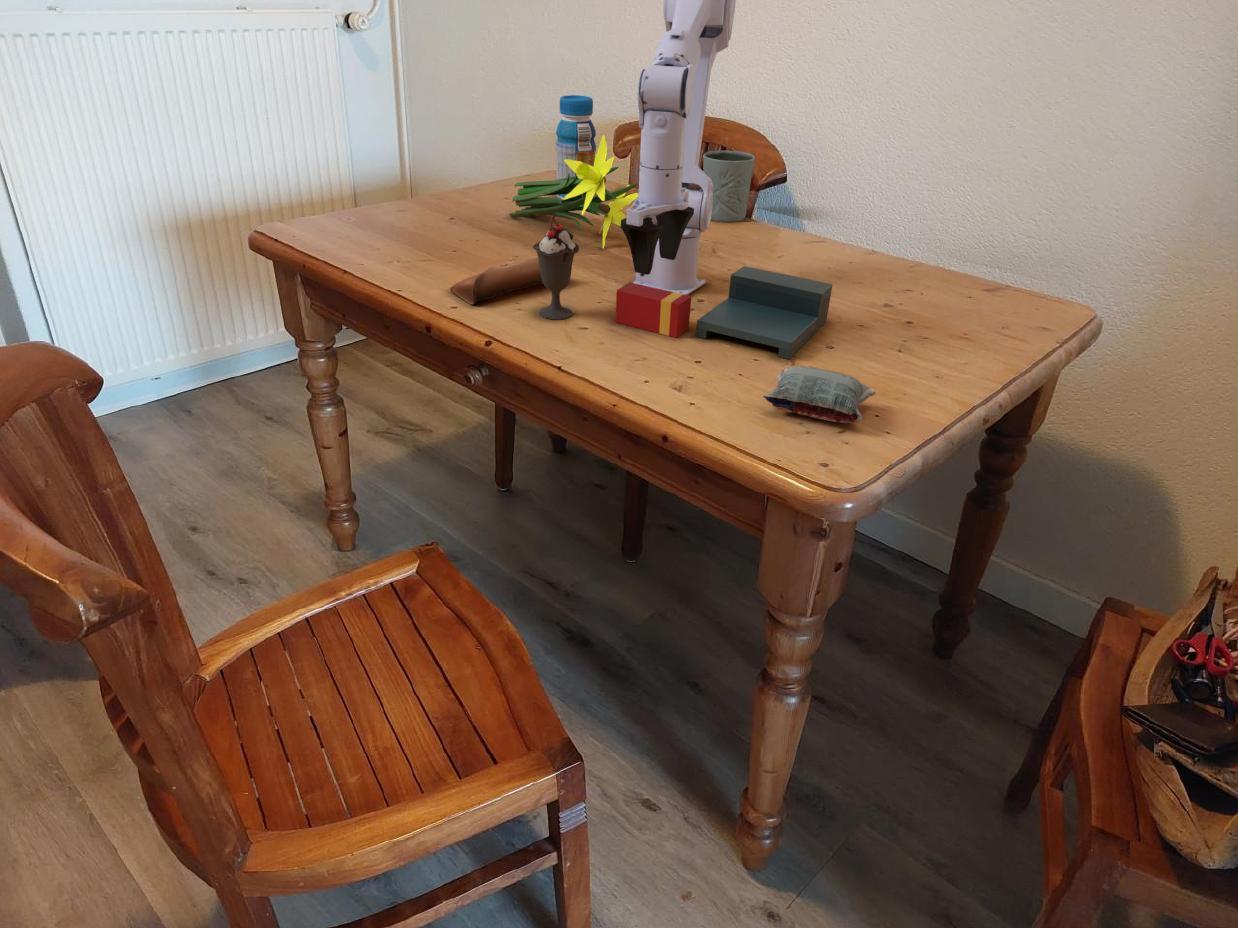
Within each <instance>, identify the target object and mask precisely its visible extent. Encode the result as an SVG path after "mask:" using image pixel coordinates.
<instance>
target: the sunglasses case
mask: <svg viewBox="0 0 1238 928" xmlns="http://www.w3.org/2000/svg"><path fill="white" fill-rule="evenodd" d="M542 284H543V283H542V278H541V274H540V266H539V260H538V257H532V258H531V257H530V258H526V259H522V260H521V259H520V260H518V261H514V262H511V263H503V264H500V265H499V266H492V267H488V268H487V269H485V270H484V271H482V273H478V274H475V275H472V276H469V277H467V278H464V279H462V280H460V281H458V282H456V283H454V284H453V285H451V286H450V289H449V290H450V292H452V293H453V294H454V295H455V296H456V297H458V298H459V299H460V300H462V301H464V303H467V304H468V305H470V306H472V305H475V304H476V303H477V302H483V301H486V300H488V299H489V300H490V299H492V298H494V297H498V296H500V295H502V294H506V293H509V292H511V291H516V290H521V289H525V288H526V289H527V288H530V287H533V286H535V285H542ZM543 285H544V284H543Z"/></svg>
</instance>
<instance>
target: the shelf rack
mask: <svg viewBox="0 0 1238 928" xmlns="http://www.w3.org/2000/svg"><path fill="white" fill-rule="evenodd" d="M832 291H833V284H832V283H829V282H824V281H818V280H814V279H810V278H805V277H799V276H794V275H790V274H786V273H781V272H775V271H770V270H766V269H762V268H757V267H751V266H746V265H743V266H742V267H740V268H739V269H737V270H736V271H734V272H733V273H731V274H730V280H729V288H728V297H727V298H726V299H724V300H723V301H722V302H720V303H719V304H717V305H716V306H714V307H713V308H712V309H711V310H709V311H707V313H705V314H704V315H703V316H701V317H699V318H698V319H697V320H696V330H695V337H697V338H701V339H704V340H706V339H708V338H709V337H710V336H712V335H713V334H714V333H716V334H720V335H724V336H729V337H733V338H737V339H741V340H745V341H749V342H753V343H756V344H762V345H765V346H770V347H774V348H776V349H777V348H778V353H777V354H778V358H781V359H785V360H790V359H791V358H792V357H793V356H794V355H795V354H796V353H797V352H798V351H800V349H801V348H802V347H803V346H804V345H805V344H806V343H808V341H809V340H810V339H811V338H812V337H813V336H814V335H815V334H816V333H817V332H819V330H821V328H822V327H824V325H826V323H827V320H828V315H829V314H828V313H829V310H830V309H829V308H830V302H831V297H832V296H831V295H832Z"/></svg>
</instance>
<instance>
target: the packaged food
mask: <svg viewBox="0 0 1238 928" xmlns="http://www.w3.org/2000/svg"><path fill="white" fill-rule="evenodd" d="M776 379H777V385H776V388H775V389H773V390H772V391H771V392H769V393H767V394H765V395H763V398H765V400H766V401H767V402H768V403H770V404H772V406H773V407H774V408H776V409H777V410H778V411H782V412H785V413H791V414H795V415H801V416H806V417H810V418H814V419H819V420H824V421H828V422H833V423H841V424H842V423H843V424H845V423H847V424H851V423H853V422H859V423H861V424H863V423H864V421H863V418H862V413H861V411H860V410H859V408H858V407H859V406H861V404H863V403H864V402H865V401H867V400H868V399H869V398H870V397H874V396H876V393H877V392H876V390H874V389H872V388H870V386H868V385H866V384H865V383H861V382H860V380H858V379H857V377H854V376H851V375H849V374H845V373H842V372H837V371H833V370H828V369H823V368H818V367H817V368H816V367H814V366H800V365H799V366H789V367H788V368H785V369H783V368H781V371H780V373H779V374H778V375H777V377H776Z"/></svg>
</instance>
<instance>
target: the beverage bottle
mask: <svg viewBox="0 0 1238 928" xmlns="http://www.w3.org/2000/svg"><path fill="white" fill-rule="evenodd" d="M593 113H594V100H593V98H592V97H591V96H587V95H579V94H570V95H569V94H568V95H567V94H566V95H562V96H560V97H559V114H560V115H561V116H562V117H561V119H560V120H559V122H558V124H557V127H556V130H555V134H556V136H557V137H556V138H557V140H556V142H555V145H554V146H555V149H554V150H555V152H556V180H558V179H563V178H568V174H570V177H573V176H576V175H577V174H576V173H575V172H574V171H573V170H572V169H571V168H570V167H569V166H568V165H567V164H566V163H565V161H564V160H565V159H570V160H575V161H580V162H583V163H586V164H588V165H591V166H593V167H594V161H595V158H596V153H597V144H596V141H595V137H596V136H597V132H596V128H595V126H594V123H593V121H592V120H591V118H590V117H592V116H593ZM584 193H585V192H584ZM582 194H583V193H582ZM566 195H567V194H562V195H555V197H560V198H561V199H562V200H565V199H564V197H565V196H566ZM577 196H578V195H577ZM593 197H595V195H594V196H593ZM568 199H569V198H568Z"/></svg>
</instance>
